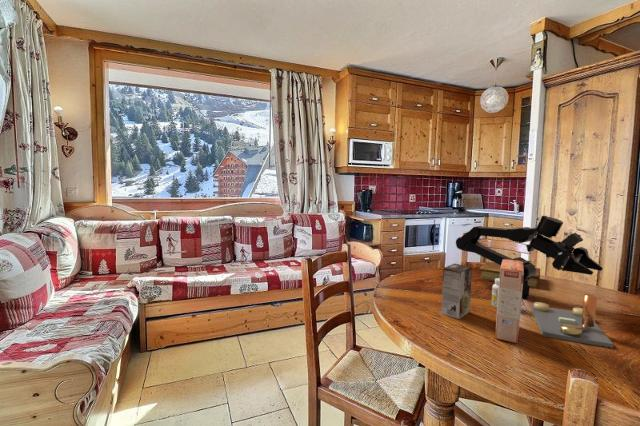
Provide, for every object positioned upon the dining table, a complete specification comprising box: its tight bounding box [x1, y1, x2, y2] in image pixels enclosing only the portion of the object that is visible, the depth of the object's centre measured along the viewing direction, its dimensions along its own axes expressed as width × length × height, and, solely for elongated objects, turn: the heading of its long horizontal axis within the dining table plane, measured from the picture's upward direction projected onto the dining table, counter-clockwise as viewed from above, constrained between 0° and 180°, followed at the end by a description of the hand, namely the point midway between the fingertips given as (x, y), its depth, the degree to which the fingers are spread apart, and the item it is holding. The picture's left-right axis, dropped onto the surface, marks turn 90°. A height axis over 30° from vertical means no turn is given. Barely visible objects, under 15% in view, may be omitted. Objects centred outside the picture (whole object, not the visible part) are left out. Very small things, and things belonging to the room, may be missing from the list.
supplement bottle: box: [491, 278, 499, 308], centre depth 120 cm, size 5×5×10 cm
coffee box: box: [441, 263, 473, 320], centre depth 112 cm, size 9×6×16 cm
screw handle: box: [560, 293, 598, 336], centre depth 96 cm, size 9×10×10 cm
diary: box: [478, 261, 541, 290], centre depth 154 cm, size 23×19×6 cm
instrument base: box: [530, 301, 614, 349], centre depth 103 cm, size 16×24×3 cm, turn 154°
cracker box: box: [494, 259, 524, 344], centre depth 97 cm, size 14×6×21 cm, turn 148°
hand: (597, 271), depth 110 cm, fingers open, 9 cm apart
